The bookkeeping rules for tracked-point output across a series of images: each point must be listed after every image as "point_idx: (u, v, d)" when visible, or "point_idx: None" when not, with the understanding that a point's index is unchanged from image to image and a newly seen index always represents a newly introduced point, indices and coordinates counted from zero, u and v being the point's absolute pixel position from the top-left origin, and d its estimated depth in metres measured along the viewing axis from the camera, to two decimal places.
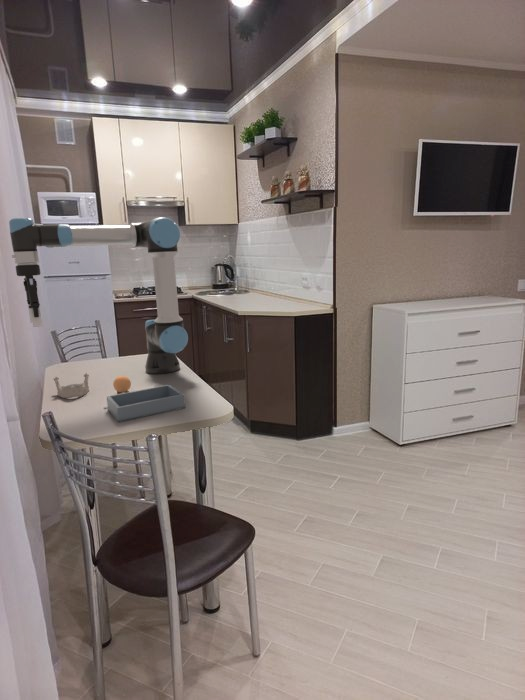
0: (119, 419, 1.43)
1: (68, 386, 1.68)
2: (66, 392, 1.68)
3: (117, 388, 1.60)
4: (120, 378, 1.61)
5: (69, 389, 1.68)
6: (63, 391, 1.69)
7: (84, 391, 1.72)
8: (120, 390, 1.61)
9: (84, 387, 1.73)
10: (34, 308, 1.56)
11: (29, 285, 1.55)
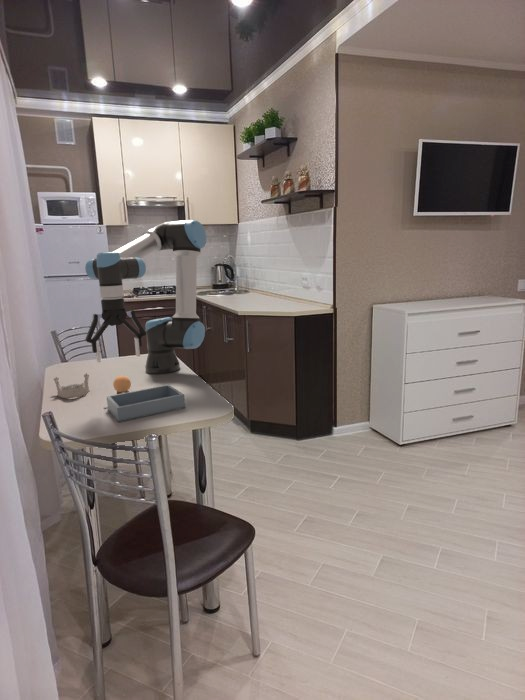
0: (119, 419, 1.43)
1: (68, 386, 1.68)
2: (66, 392, 1.68)
3: (117, 388, 1.60)
4: (120, 378, 1.61)
5: (69, 389, 1.68)
6: (63, 391, 1.69)
7: (84, 391, 1.72)
8: (120, 390, 1.61)
9: (84, 387, 1.73)
10: (91, 343, 1.55)
11: None
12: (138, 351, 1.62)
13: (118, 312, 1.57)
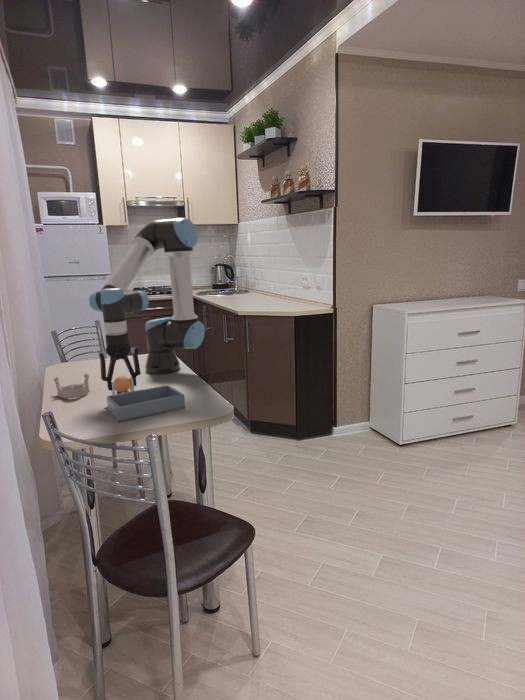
0: (119, 419, 1.43)
1: (68, 386, 1.67)
2: (66, 392, 1.68)
3: (117, 388, 1.60)
4: (120, 378, 1.61)
5: (69, 389, 1.67)
6: (63, 391, 1.68)
7: (84, 391, 1.72)
8: (120, 390, 1.61)
9: (84, 387, 1.72)
10: (107, 381, 1.60)
11: (100, 359, 1.58)
12: (133, 390, 1.64)
13: (123, 345, 1.60)
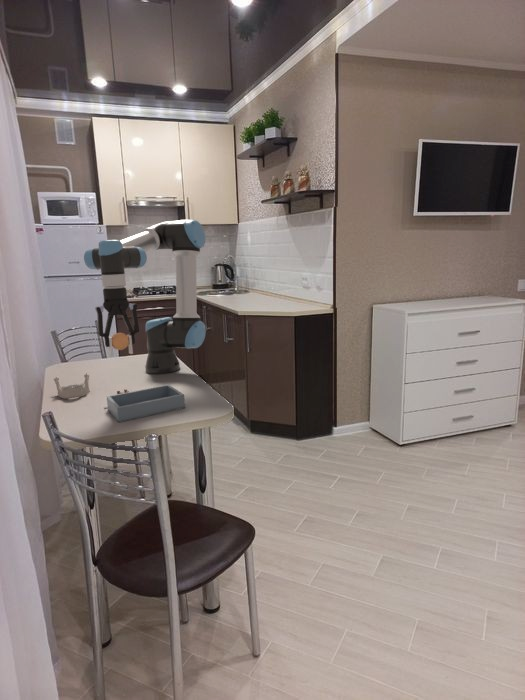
0: (119, 419, 1.43)
1: (68, 387, 1.67)
2: (66, 393, 1.67)
3: (114, 345, 1.55)
4: (118, 334, 1.55)
5: (69, 390, 1.67)
6: (63, 392, 1.68)
7: (84, 392, 1.72)
8: (117, 347, 1.55)
9: (84, 388, 1.72)
10: (104, 337, 1.55)
11: (97, 313, 1.53)
12: (131, 348, 1.58)
13: (121, 300, 1.54)
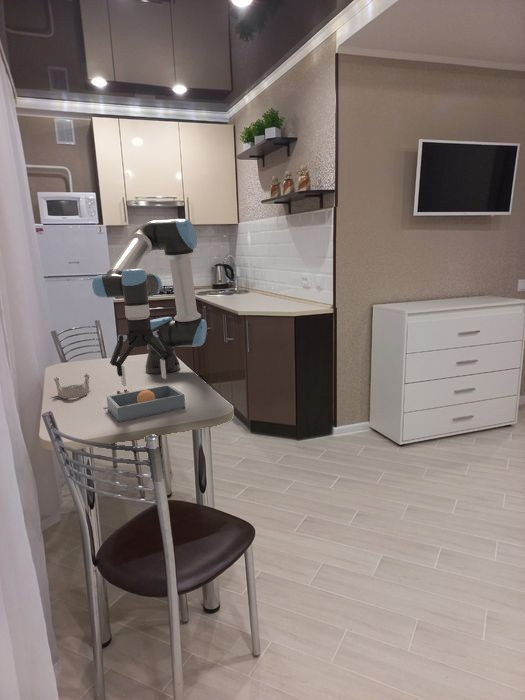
0: (119, 419, 1.43)
1: (68, 387, 1.67)
2: (66, 393, 1.67)
3: None
4: (144, 393, 1.51)
5: (69, 390, 1.67)
6: (63, 392, 1.68)
7: (84, 392, 1.72)
8: None
9: (84, 388, 1.72)
10: None
11: (117, 342, 1.46)
12: (164, 373, 1.53)
13: (144, 332, 1.48)
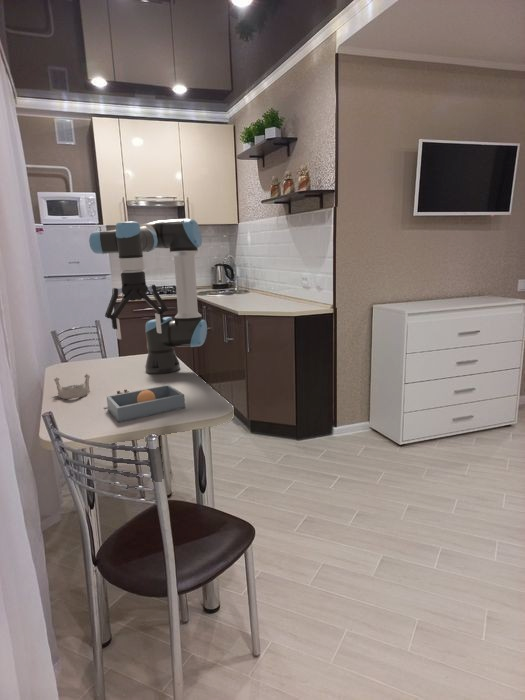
0: (119, 419, 1.43)
1: (68, 387, 1.67)
2: (66, 393, 1.67)
3: None
4: (145, 393, 1.51)
5: (69, 390, 1.67)
6: (63, 392, 1.68)
7: (84, 392, 1.71)
8: None
9: (84, 388, 1.72)
10: (111, 319, 1.47)
11: (112, 295, 1.47)
12: (159, 328, 1.55)
13: (139, 286, 1.49)
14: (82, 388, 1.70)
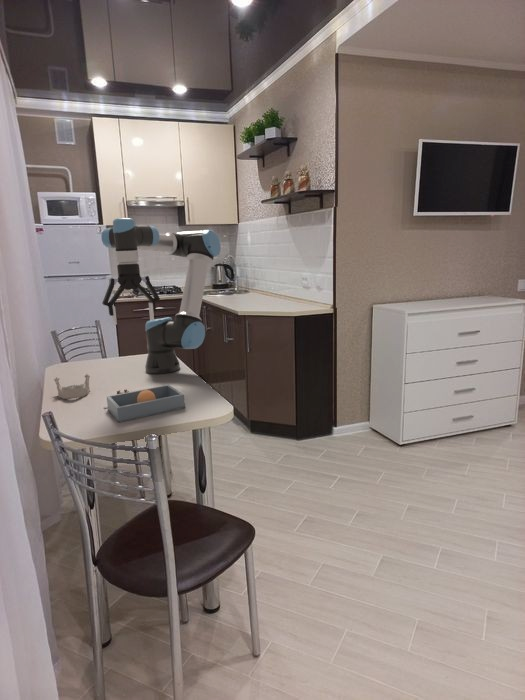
0: (119, 419, 1.43)
1: (68, 387, 1.67)
2: (66, 393, 1.67)
3: None
4: (145, 393, 1.51)
5: (69, 390, 1.67)
6: (63, 392, 1.68)
7: (84, 392, 1.71)
8: None
9: (84, 388, 1.72)
10: (108, 306, 1.62)
11: (109, 284, 1.62)
12: (152, 315, 1.69)
13: (133, 277, 1.64)
14: (82, 388, 1.70)
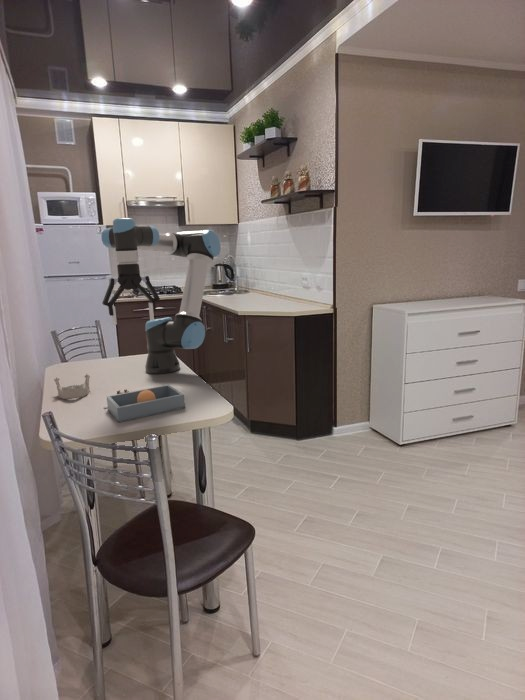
0: (119, 419, 1.43)
1: (68, 387, 1.67)
2: (66, 393, 1.67)
3: None
4: (145, 393, 1.51)
5: (69, 390, 1.67)
6: (63, 392, 1.68)
7: (84, 392, 1.71)
8: None
9: (84, 388, 1.72)
10: (108, 306, 1.62)
11: (109, 284, 1.62)
12: (152, 315, 1.69)
13: (133, 277, 1.64)
14: (82, 388, 1.70)
